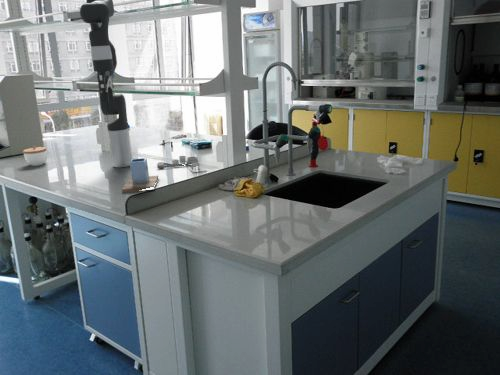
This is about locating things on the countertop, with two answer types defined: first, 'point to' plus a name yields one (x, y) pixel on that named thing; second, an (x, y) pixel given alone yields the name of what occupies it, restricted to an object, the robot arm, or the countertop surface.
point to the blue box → (139, 171)
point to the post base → (138, 185)
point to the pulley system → (182, 159)
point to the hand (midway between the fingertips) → (108, 100)
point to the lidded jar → (35, 155)
